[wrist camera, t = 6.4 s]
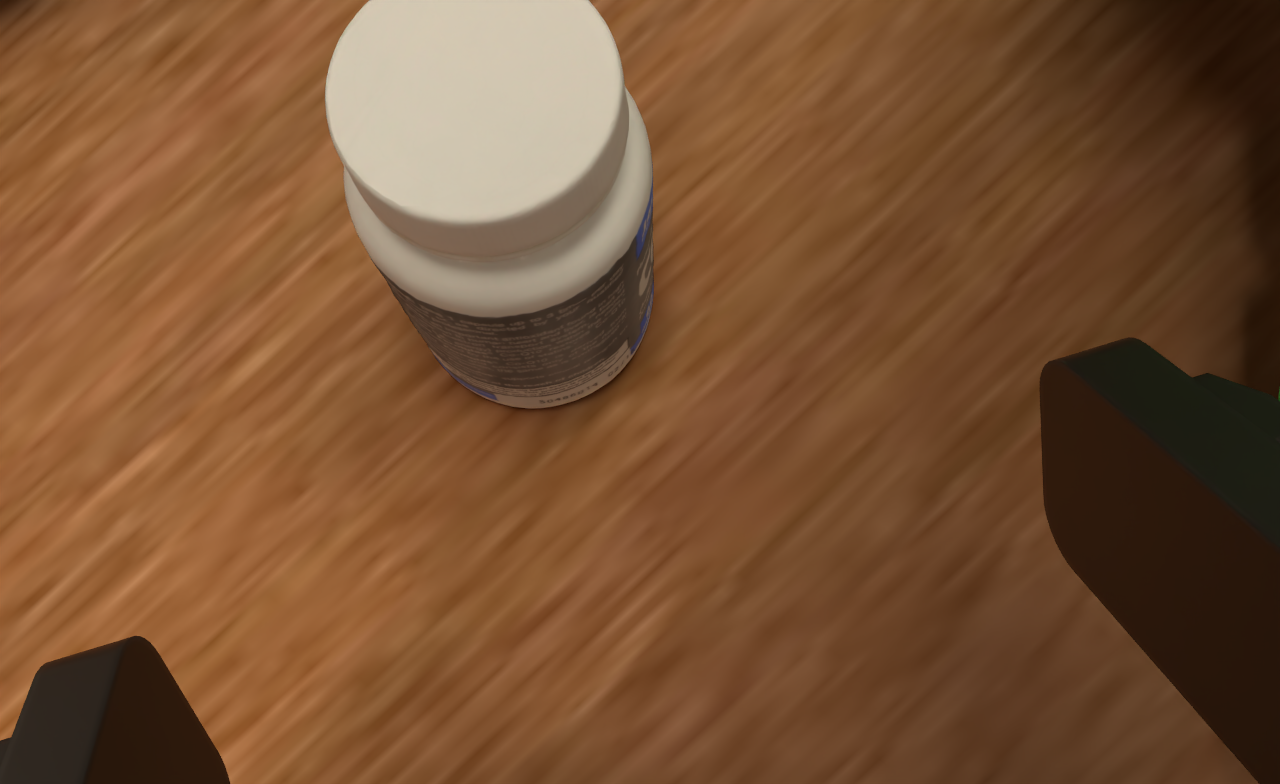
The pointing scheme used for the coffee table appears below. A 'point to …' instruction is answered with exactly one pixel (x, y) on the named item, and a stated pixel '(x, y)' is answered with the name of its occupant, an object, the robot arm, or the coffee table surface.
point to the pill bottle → (500, 187)
